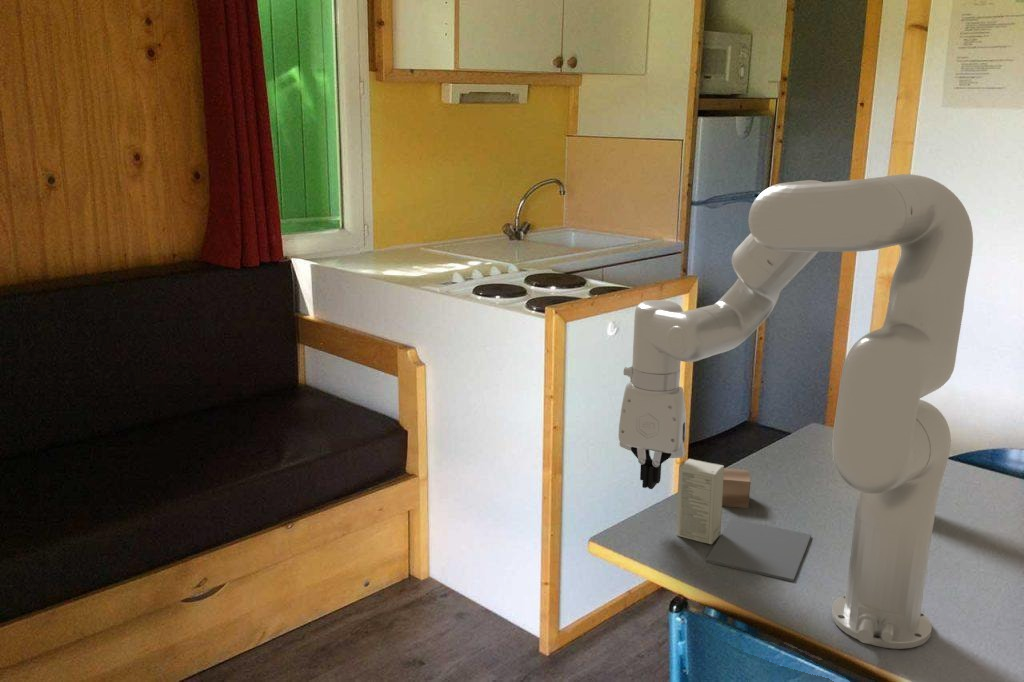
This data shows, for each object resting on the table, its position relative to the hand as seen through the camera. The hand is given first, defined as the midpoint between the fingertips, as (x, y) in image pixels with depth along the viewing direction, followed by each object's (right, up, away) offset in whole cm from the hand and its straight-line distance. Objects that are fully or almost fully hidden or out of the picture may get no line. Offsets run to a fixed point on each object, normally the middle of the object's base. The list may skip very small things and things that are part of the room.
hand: (649, 485), depth 152 cm
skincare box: (+7, -8, -2) cm, 11 cm away
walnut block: (+16, -5, +11) cm, 20 cm away
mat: (+16, -9, -6) cm, 20 cm away
